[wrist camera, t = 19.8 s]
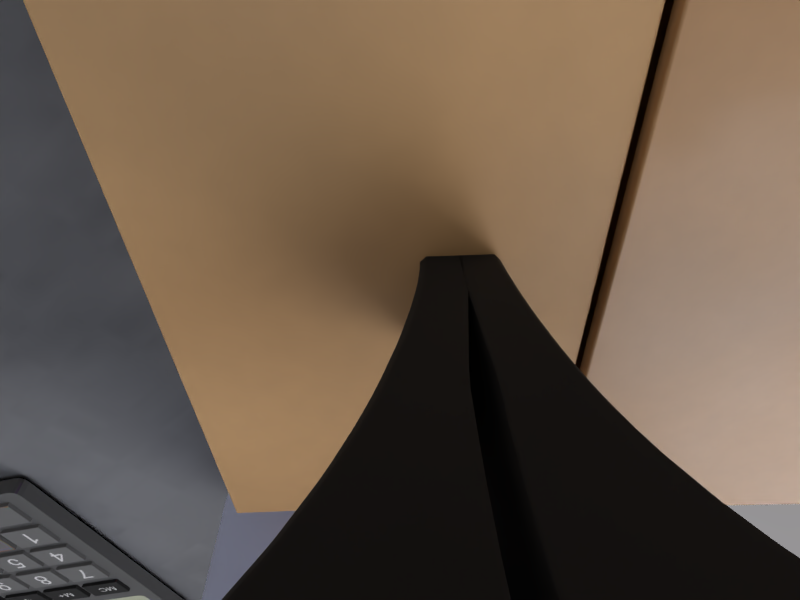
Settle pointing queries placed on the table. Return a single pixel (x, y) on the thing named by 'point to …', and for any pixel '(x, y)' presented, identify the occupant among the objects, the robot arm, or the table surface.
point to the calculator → (62, 554)
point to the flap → (342, 184)
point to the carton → (710, 253)
